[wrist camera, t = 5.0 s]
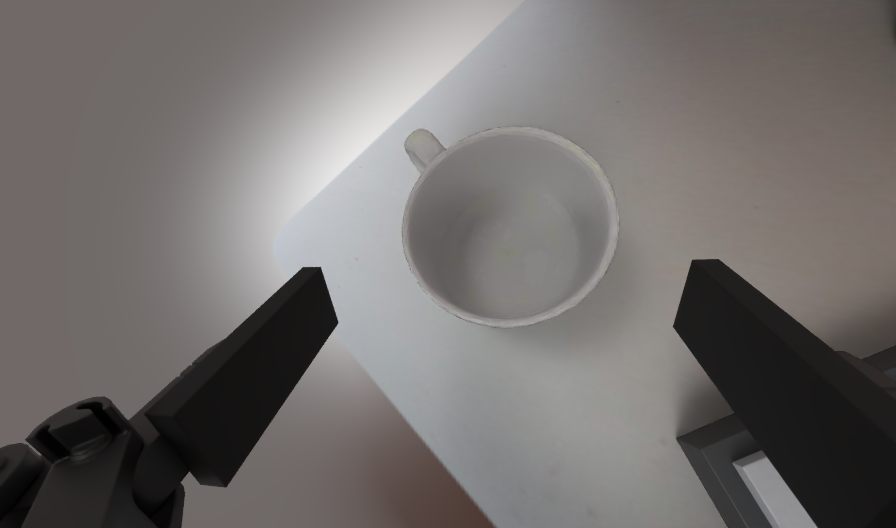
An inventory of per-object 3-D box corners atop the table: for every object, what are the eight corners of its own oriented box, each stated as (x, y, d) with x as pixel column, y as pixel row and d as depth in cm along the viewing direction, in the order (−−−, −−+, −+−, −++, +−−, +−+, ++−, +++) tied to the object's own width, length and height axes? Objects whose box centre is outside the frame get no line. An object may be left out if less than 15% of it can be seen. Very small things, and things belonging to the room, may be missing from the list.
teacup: (615, 286, 22) (674, 247, 14) (476, 368, 22) (462, 371, 14) (505, 143, 26) (505, 56, 19) (390, 210, 26) (344, 149, 19)
